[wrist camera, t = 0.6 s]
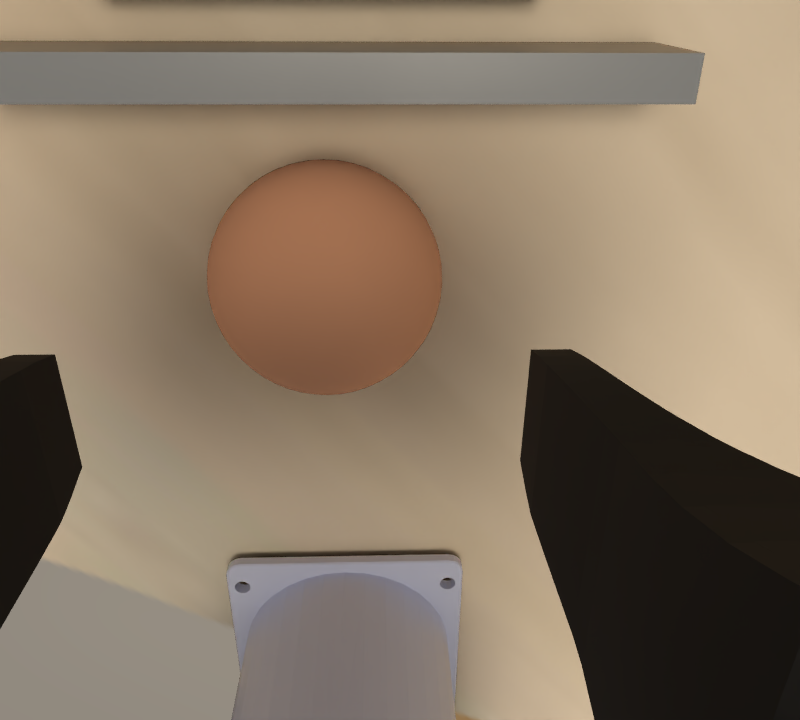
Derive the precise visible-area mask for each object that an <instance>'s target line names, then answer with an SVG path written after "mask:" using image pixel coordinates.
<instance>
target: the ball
mask: <svg viewBox="0 0 800 720" xmlns="http://www.w3.org/2000/svg"><path fill="white" fill-rule="evenodd" d="M207 284H208V294H209V299H210V304H211V308H212V310H213V313H214V316H215V319H216V322H217V324H218V326H219V328H220V330H221V332H222V334H223V336H224V338H225V339H226V341H227V342H228V344H229V345H230V347H231V348H232V349H233V350H234V351H235V353H236V354H237V355H238V356H239V357H240V358H241V359H242V360H243V361H244V362H245V363H246V364H247V365H248V366H250V367H251V368H252V369H253V370H254V371H256V372H257V373H259V374H260V375H261V376H263V377H264V378H266V379H268V380H270V381H272V382H274V383H275V384H278V385H280V386H283V387H285V388H288V389H291V390H295V391H299V392H303V393H309V394H320V395H332V394H343V393H348V392H354V391H357V390H360V389H363V388H366V387H369V386H371V385H373V384H375V383H378V382H380V381H381V380H383V379H385V378H387V377H388V376H390V375H392V374H393V373H394V372H396V371H397V370H398V369H399V368H401V367H402V366H403V365H404V364H405V363H406V362H407V361H408V360H409V359H410V358H411V357H412V356H413V355H414V354H415V352H416V351H417V350H418V348H419V347H420V346H421V344H422V343H423V342H424V340H425V338H426V336H427V335H428V333H429V331H430V329H431V327H432V324H433V322H434V319H435V317H436V314H437V310H438V306H439V302H440V298H441V288H442V271H441V260H440V255H439V249H438V246H437V243H436V240H435V237H434V235H433V232H432V230H431V228H430V226H429V224H428V222H427V220H426V218H425V217H424V215H423V214H422V212H421V211H420V209H419V208H418V206H417V205H416V204H415V203H414V201H413V200H412V199H411V198H410V197H409V196H408V195H407V194H406V193H405V192H404V191H403V190H402V189H400V188H399V187H398V186H397V185H396V184H394V183H393V182H391V181H390V180H388V179H387V178H385V177H384V176H382V175H381V174H378V173H376V172H374V171H372V170H370V169H368V168H366V167H363V166H360V165H357V164H354V163H349V162H344V161H339V160H324V159H323V160H308V161H303V162H298V163H293V164H289V165H287V166H284V167H281V168H278V169H276V170H274V171H272V172H270V173H268V174H266V175H264V176H262V177H261V178H259V179H258V180H257V181H255V182H254V183H252V184H251V185H250V186H249V187H248V188H247V189H246V190H244V191H243V192H242V193H241V194H240V195H239V196H238V197H237V198H236V199H235V201H234V202H233V203H232V204H231V206H230V207H229V208H228V210H227V211H226V213H225V214H224V216H223V218H222V220H221V221H220V223H219V225H218V228H217V230H216V233H215V236H214V238H213V241H212V244H211V248H210V252H209V256H208V268H207Z"/></svg>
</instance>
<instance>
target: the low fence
mask: <svg viewBox="0 0 800 720" xmlns="http://www.w3.org/2000/svg"><path fill="white" fill-rule="evenodd" d="M704 55H705V53H702V52H697V51H692V50H688V49H683V48H678V47H674V46H669V45H664V44H660V43H655V42H221V41H0V104H696V98H697V93H698V87H699V82H700V77H701V71H702V66H703V61H704Z"/></svg>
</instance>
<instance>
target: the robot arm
mask: <svg viewBox="0 0 800 720" xmlns="http://www.w3.org/2000/svg"><path fill="white" fill-rule="evenodd" d="M520 462H521V467H522V473H523V478H524V483H525V489H526V494H527V499H528V503H529V508H530V513H531V516H532V519H533V522H534V525H535V528H536V531H537V534H538V537H539V540H540V543H541V546H542V549H543V552H544V555H545V558H546V560H547V563H548V566H549V569H550V572H551V575H552V578H553V580H554V583H555V586H556V589H557V592H558V595H559V597H560V600H561V603H562V606H563V609H564V612H565V615H566V617H567V620H568V623H569V626H570V629H571V632H572V634H573V638H574V641H575V644H576V648H577V651H578V654H579V658H580V661H581V664H582V668H583V672H584V677H585V681H586V685H587V690H588V694H589V698H590V702H591V707H592V711H593V715H594V720H800V477H798V476H795V475H793V474H790V473H788V472H786V471H783V470H781V469H779V468H776V467H774V466H772V465H770V464H768V463H766V462H763V461H761V460H759V459H757V458H755V457H753V456H751V455H748V454H746V453H744V452H742V451H740V450H738V449H735V448H734V447H732V446H730V445H728V444H726V443H724V442H722V441H720V440H718V439H716V438H714V437H712V436H710V435H709V434H707V433H705V432H703V431H702V430H700V429H698V428H696V427H695V426H693V425H691V424H689V423H687V422H686V421H684V420H682V419H680V418H679V417H677V416H675V415H674V414H672V413H670V412H669V411H667V410H665V409H664V408H662V407H661V406H659V405H657V404H656V403H654V402H653V401H651V400H649V399H648V398H646V397H645V396H643V395H642V394H640V393H639V392H637V391H636V390H634V389H633V388H631V387H630V386H628V385H627V384H625V383H623V382H622V381H620V380H619V379H617V378H616V377H615V376H613V375H612V374H610V373H609V372H607V371H606V370H604V369H603V368H601V367H600V366H598V365H597V364H595V363H593V362H592V361H590V360H589V359H587V358H586V357H584V356H582V355H581V354H579V353H577V352H575V351H573V350H571V349H563V350H531V356H530V366H529V377H528V387H527V397H526V407H525V418H524V428H523V438H522V448H521V458H520ZM81 469H82V464H81V460H80V456H79V452H78V448H77V444H76V440H75V436H74V431H73V427H72V423H71V419H70V415H69V411H68V407H67V403H66V398H65V394H64V390H63V386H62V382H61V378H60V374H59V370H58V365H57V361H56V357H55V355H12V356H9V357H5V358H2V359H0V628H1V627H2V625H3V623H4V621H5V620H6V618H7V616H8V614H9V613H10V611H11V609H12V608H13V606H14V604H15V603H16V600H17V599H18V597H19V595H20V594H21V592H22V590H23V589H24V587H25V585H26V583H27V582H28V580H29V578H30V577H31V575H32V573H33V571H34V570H35V568H36V566H37V564H38V563H39V561H40V559H41V557H42V556H43V554H44V552H45V550H46V549H47V547H48V545H49V543H50V541H51V540H52V538H53V536H54V534H55V532H56V531H57V529H58V527H59V525H60V523H61V521H62V519H63V516H64V514H65V511H66V509H67V506H68V504H69V502H70V499H71V497H72V494H73V491H74V488H75V485H76V483H77V480H78V477H79V474H80V471H81ZM462 573H463V571H462V564H461V560H460V559H459V558H458V557H456V556H454V555H450V554H429V555H374V556H319V557H264V558H238V559H235V560H233V561H231V562H230V564H229V565H228V569H227V575H226V576H227V583H228V590H229V597H230V604H231V611H232V617H233V624H234V631H235V638H236V645H237V652H238V658H239V666H240V678H239V684H238V689H237V694H236V699H235V704H234V709H233V714H232V719H231V720H456V716H455V691H456V674H457V657H458V640H459V623H460V607H461V590H462ZM444 578H452V579H451V580H447V581H445V580H443V579H444ZM239 582H246V583H248V584H246V585H245V584H241V583H239Z"/></svg>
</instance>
